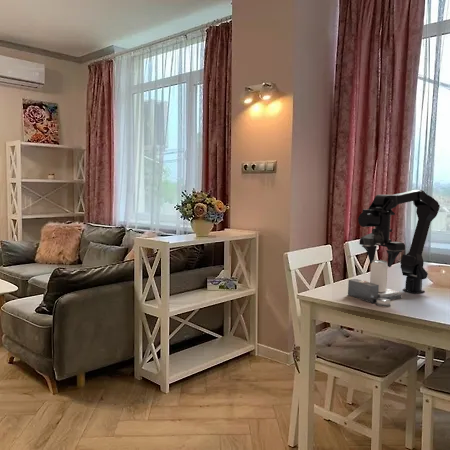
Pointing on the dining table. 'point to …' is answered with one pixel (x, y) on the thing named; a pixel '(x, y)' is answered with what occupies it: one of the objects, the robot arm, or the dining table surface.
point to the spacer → (383, 302)
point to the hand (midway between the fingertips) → (380, 265)
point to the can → (379, 274)
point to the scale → (366, 291)
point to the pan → (387, 293)
